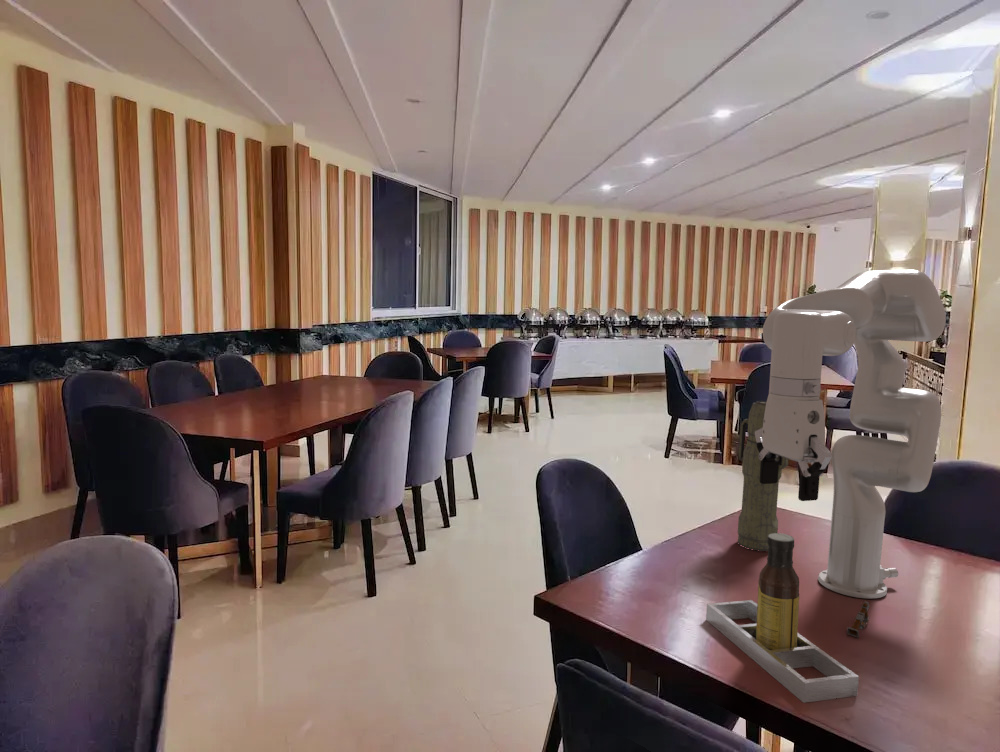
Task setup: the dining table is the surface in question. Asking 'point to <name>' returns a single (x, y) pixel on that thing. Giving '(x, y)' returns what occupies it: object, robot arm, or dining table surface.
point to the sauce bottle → (778, 596)
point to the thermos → (756, 487)
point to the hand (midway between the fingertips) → (787, 491)
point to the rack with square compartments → (784, 656)
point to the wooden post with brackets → (859, 621)
